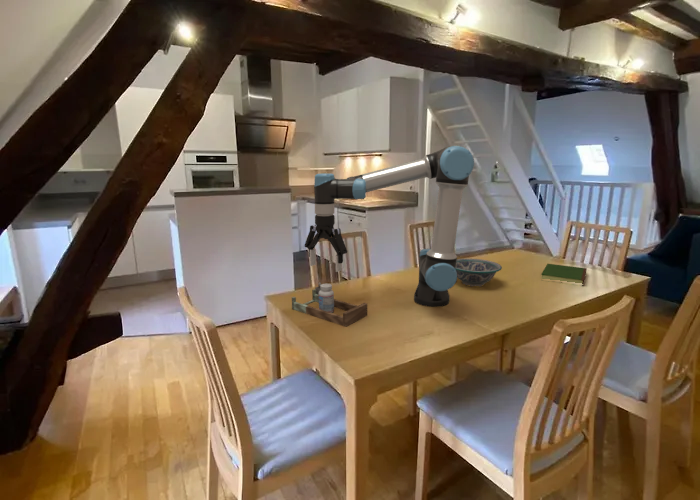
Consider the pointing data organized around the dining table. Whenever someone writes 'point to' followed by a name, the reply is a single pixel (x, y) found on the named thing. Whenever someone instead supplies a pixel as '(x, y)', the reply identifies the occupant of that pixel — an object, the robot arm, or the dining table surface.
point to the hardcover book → (564, 273)
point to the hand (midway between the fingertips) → (325, 268)
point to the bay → (348, 317)
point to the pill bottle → (326, 298)
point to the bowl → (476, 271)
